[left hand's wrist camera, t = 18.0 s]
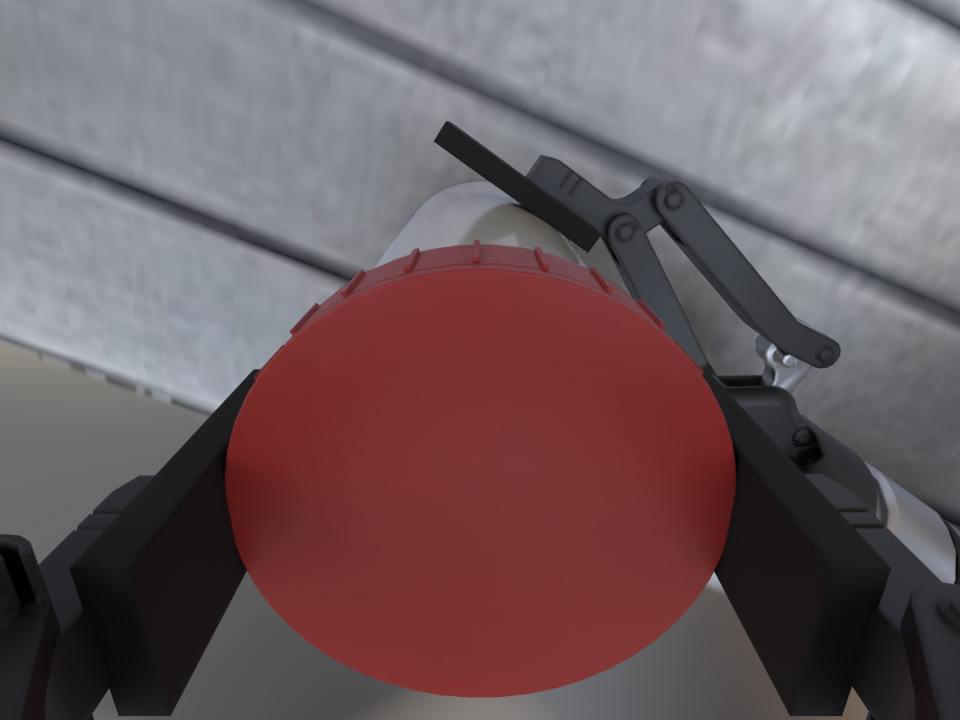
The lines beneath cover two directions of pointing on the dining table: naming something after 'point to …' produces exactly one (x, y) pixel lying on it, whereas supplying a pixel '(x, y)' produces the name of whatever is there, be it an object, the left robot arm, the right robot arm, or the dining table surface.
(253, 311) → the dining table surface
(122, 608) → the left robot arm
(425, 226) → the jar
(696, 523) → the lid
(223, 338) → the dining table surface
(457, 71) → the dining table surface
